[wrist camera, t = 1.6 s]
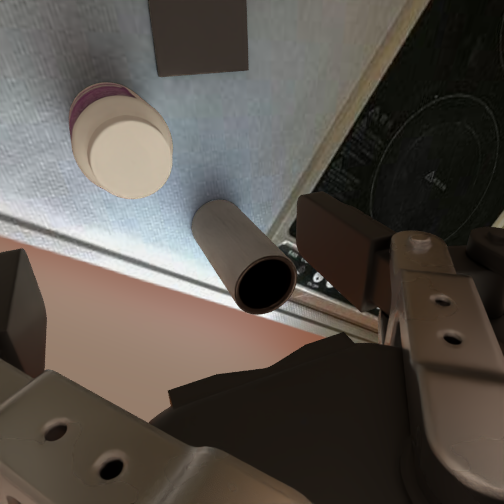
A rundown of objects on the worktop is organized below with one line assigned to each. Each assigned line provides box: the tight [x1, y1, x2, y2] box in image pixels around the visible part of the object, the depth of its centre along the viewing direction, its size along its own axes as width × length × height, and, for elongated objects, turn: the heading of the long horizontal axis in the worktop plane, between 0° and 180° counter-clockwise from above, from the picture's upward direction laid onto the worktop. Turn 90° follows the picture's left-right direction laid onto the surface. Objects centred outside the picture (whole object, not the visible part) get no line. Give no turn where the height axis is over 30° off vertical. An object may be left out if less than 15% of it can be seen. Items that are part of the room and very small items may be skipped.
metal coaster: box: [148, 0, 248, 77], centre depth 26 cm, size 6×6×1 cm
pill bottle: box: [69, 82, 173, 199], centre depth 23 cm, size 5×5×10 cm
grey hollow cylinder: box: [192, 200, 297, 315], centre depth 30 cm, size 4×4×10 cm
